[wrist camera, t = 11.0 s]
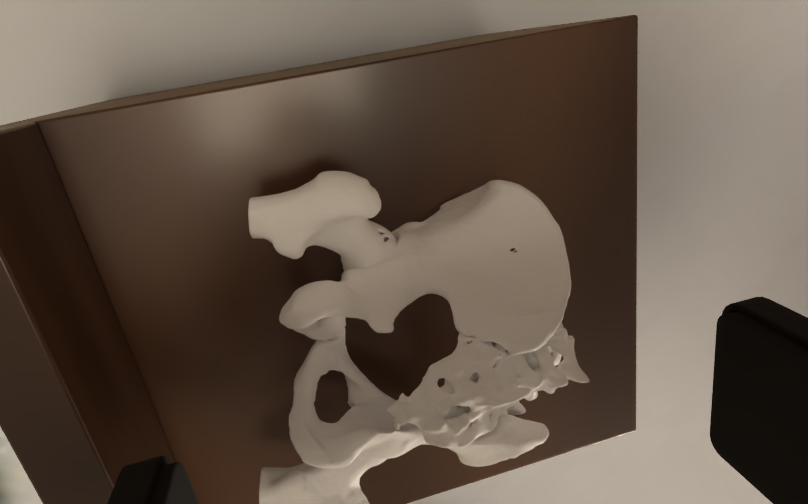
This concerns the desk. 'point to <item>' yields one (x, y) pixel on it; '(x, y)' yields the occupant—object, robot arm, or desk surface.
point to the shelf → (281, 276)
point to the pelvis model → (388, 295)
